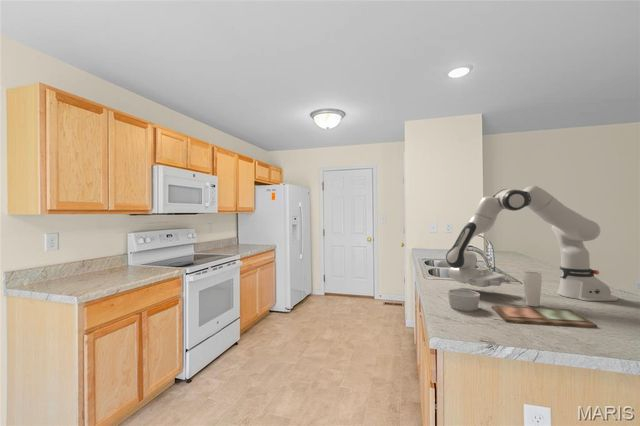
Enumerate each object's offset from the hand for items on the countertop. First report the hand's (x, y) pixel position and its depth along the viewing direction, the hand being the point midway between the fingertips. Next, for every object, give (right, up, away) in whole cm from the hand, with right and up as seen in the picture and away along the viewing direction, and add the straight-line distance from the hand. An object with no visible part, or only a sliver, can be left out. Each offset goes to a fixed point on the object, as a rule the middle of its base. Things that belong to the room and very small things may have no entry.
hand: (505, 282), depth 147 cm
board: (-2, -8, -25) cm, 26 cm away
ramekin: (-26, -9, -11) cm, 30 cm away
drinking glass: (+6, -8, -10) cm, 14 cm away
